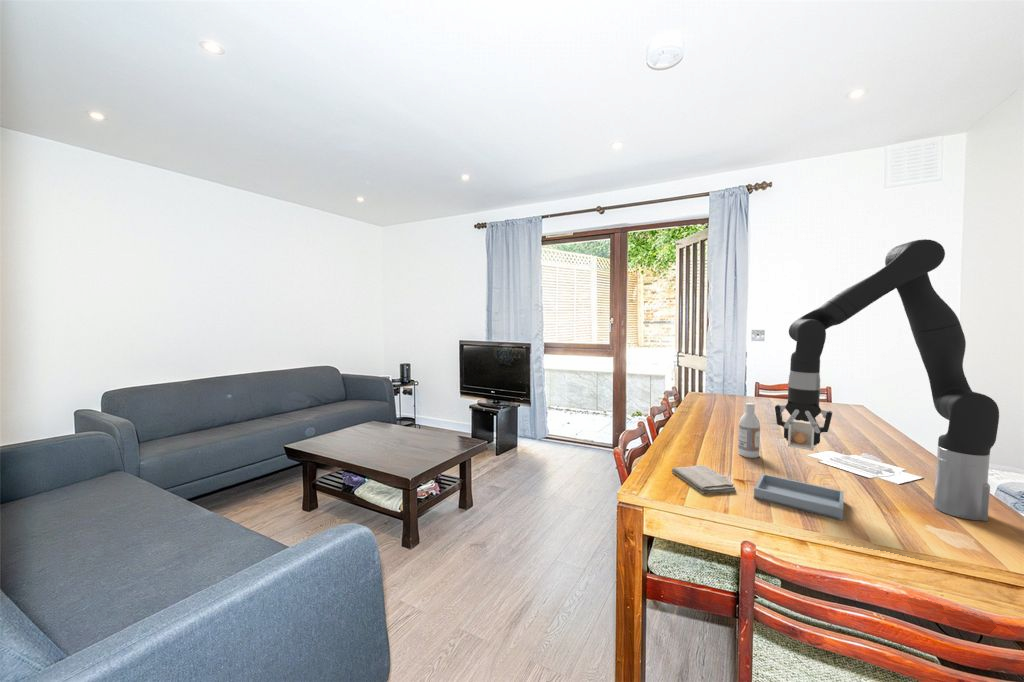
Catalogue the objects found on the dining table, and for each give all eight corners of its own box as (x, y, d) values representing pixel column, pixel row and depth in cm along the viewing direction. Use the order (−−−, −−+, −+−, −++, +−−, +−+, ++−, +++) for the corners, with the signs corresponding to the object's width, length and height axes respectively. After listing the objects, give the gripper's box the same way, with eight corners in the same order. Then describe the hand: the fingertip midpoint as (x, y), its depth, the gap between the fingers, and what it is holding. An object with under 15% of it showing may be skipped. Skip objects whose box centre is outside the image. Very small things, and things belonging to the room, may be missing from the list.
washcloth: (703, 496, 118) (704, 486, 118) (670, 473, 135) (670, 464, 135) (739, 493, 120) (739, 483, 120) (701, 470, 137) (701, 462, 137)
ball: (801, 443, 120) (806, 433, 119) (804, 447, 117) (809, 437, 116) (789, 438, 121) (794, 429, 120) (792, 442, 118) (797, 433, 117)
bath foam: (753, 459, 147) (755, 406, 145) (734, 454, 152) (736, 403, 151) (762, 455, 150) (764, 404, 149) (743, 450, 156) (745, 400, 155)
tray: (843, 501, 114) (843, 491, 113) (842, 520, 103) (843, 509, 103) (761, 482, 126) (762, 473, 126) (753, 498, 116) (754, 488, 116)
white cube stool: (814, 445, 118) (815, 424, 118) (813, 450, 114) (814, 428, 113) (790, 441, 122) (791, 420, 122) (787, 446, 118) (788, 424, 117)
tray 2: (893, 488, 123) (893, 476, 123) (800, 461, 150) (800, 451, 149) (930, 479, 131) (930, 467, 130) (835, 454, 157) (835, 445, 157)
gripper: (835, 387, 115) (832, 444, 116) (776, 382, 124) (774, 434, 125) (834, 391, 109) (831, 451, 110) (773, 385, 119) (770, 440, 120)
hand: (801, 442), depth 118 cm, fingers closed on white cube stool, 6 cm apart
